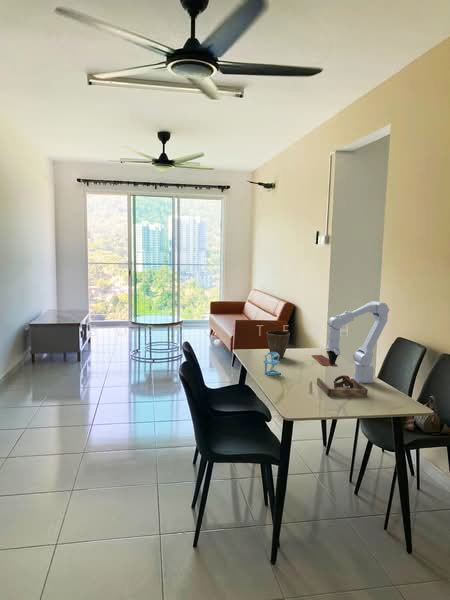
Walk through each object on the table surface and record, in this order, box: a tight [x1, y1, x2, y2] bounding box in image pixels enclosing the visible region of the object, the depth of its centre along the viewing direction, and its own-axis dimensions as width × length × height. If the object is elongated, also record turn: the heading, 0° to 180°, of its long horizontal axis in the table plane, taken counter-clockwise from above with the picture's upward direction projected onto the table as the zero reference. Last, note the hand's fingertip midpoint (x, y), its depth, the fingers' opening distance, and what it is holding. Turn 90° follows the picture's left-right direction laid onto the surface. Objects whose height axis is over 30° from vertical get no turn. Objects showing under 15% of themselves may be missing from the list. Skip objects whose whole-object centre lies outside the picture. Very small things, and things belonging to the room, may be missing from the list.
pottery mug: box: [333, 375, 355, 389], centre depth 204 cm, size 12×10×8 cm
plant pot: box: [266, 330, 291, 359], centre depth 260 cm, size 15×15×16 cm
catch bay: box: [316, 377, 369, 398], centre depth 202 cm, size 19×17×4 cm
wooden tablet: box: [311, 354, 338, 368], centre depth 258 cm, size 27×10×2 cm, turn 6°
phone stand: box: [263, 351, 282, 376], centre depth 225 cm, size 8×8×12 cm
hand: (332, 364), depth 216 cm, fingers closed
